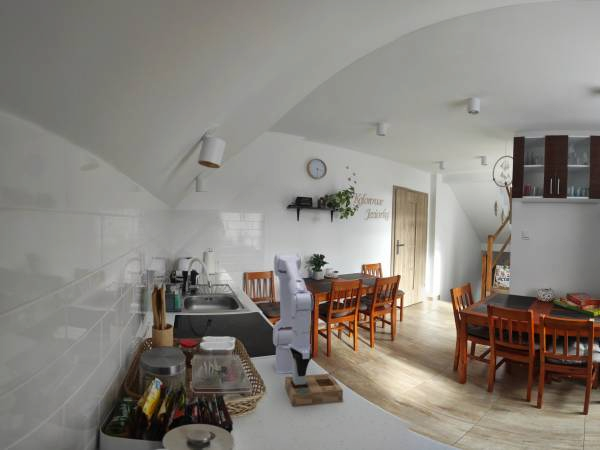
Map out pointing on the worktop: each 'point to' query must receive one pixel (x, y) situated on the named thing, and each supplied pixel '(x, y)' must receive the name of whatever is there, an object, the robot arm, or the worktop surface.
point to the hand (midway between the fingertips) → (299, 373)
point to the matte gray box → (295, 377)
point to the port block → (314, 390)
